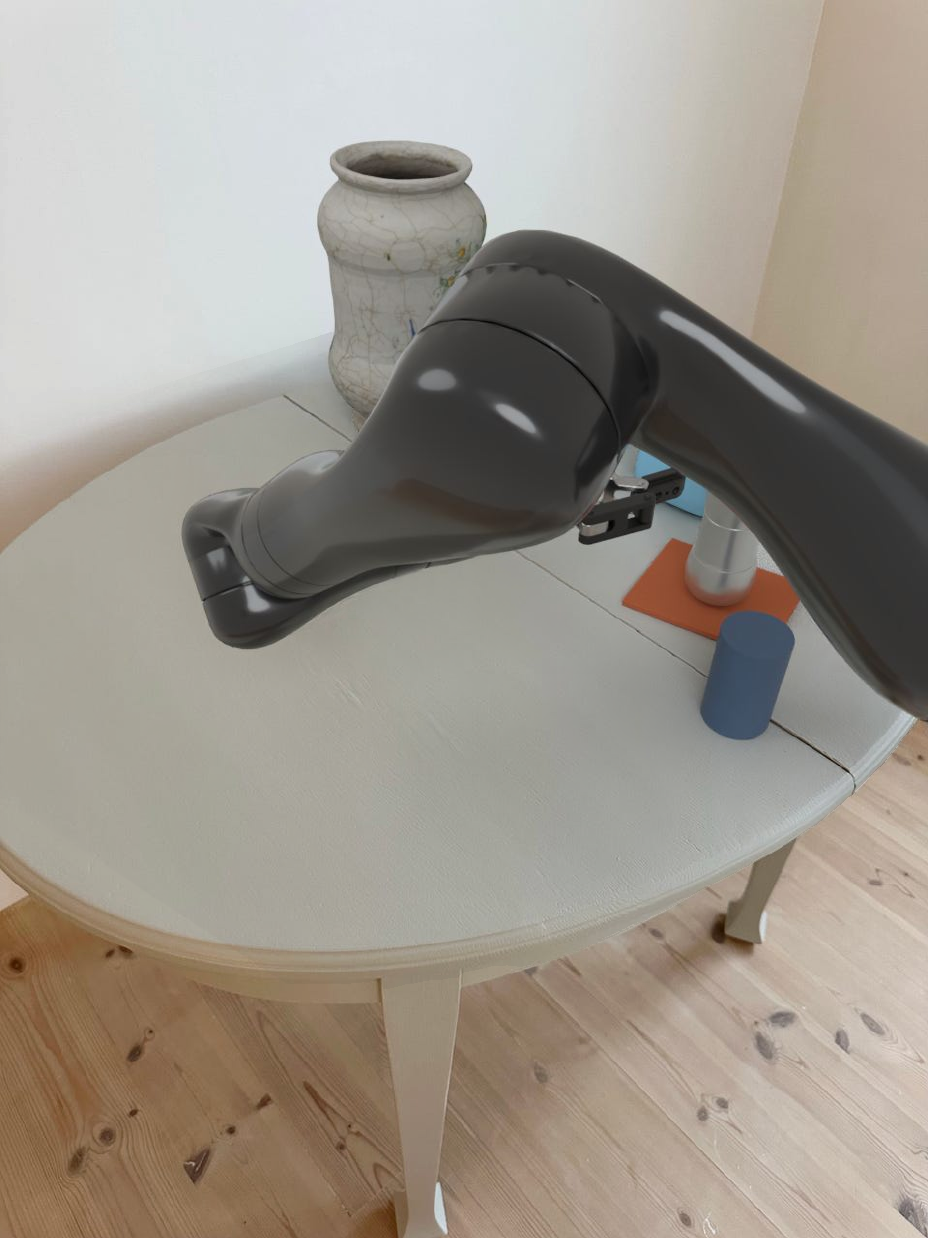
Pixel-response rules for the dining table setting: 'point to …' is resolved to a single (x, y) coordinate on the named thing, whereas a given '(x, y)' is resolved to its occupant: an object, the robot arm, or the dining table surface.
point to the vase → (391, 253)
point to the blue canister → (746, 674)
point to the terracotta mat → (675, 604)
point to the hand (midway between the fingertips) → (648, 453)
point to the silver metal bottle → (721, 557)
